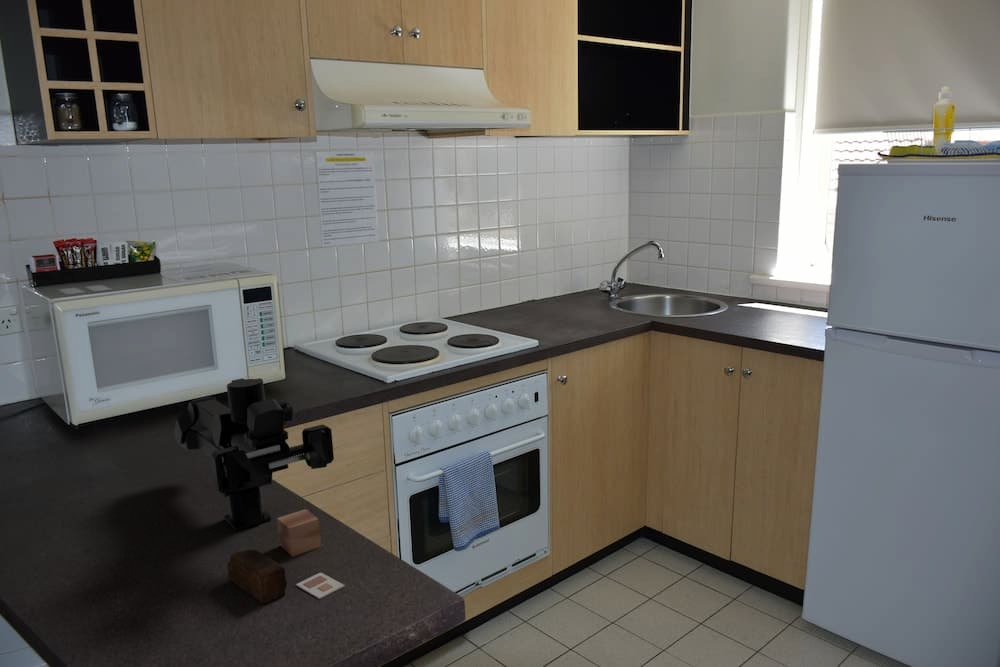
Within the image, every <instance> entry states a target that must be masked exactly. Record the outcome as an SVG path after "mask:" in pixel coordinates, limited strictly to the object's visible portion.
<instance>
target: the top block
mask: <svg viewBox="0 0 1000 667" xmlns="http://www.w3.org/2000/svg"><path fill="white" fill-rule="evenodd" d="M276 522H277V530H278V539H279V546H280V547H281V546H282V547H283V548H284V549H285V550H286V551H287V552H288V553H287V554H289V556H291V557H296V556H298V555H301V554H304V553H308V552H310V551H312V550H317V549H319V548H321V547H322V540H321V531H320V522H319V518H318V517H317V516H315V515H314V514H313V513H311V512H310V511H309V510H308V509H306V508H305V509H302V510H298V511H296V512H292V513H289V514H286V515H282V516H280V517H277V518H276ZM282 547H281V548H282ZM283 548H282V549H283ZM284 549H283V550H284ZM285 550H284V551H285ZM286 551H285V552H286Z"/></svg>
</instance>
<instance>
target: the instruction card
mask: <svg viewBox="0 0 1000 667" xmlns="http://www.w3.org/2000/svg"><path fill="white" fill-rule="evenodd" d="M295 586H296V587H297V588H299V589H301V590H303V591H304V592H305V593H307V594H309V595H311V596H313V597H315V598H316V599H319V600H321V599H323V598H325V597H327V596H328V595H330V594H333V593H335V592H336V591H338V590H340V589H342V588H345V587H346V586H345V584H344V583H341V582H339V581H337V580H335V579H334V578H332V577H330V576H328V575H326V574H325V573H323V572H319V573H317V574H315V575H311V576H310V577H308V578H306V579H304V580H302V581H300V582H298V583H296V584H295Z"/></svg>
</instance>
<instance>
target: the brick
mask: <svg viewBox="0 0 1000 667" xmlns="http://www.w3.org/2000/svg"><path fill="white" fill-rule="evenodd" d="M227 570H228V577H229V579H230V580H231V581H232V582H233V583H234V584H235V585H236V586H237V585H238V586H239V587H238V588H240V587H241V588H242V589H243V590H242V589H241V588H240V589H241V590H242V591H244V590H245V591H246V592H245V591H244V592H245V593H247V592H248V593H249V594H248V593H247V594H248V595H250V596H251V595H252V596H253V598H254V597H255V598H256V599H255V598H254V599H255V600H257V601H258V602H259V601H260V603H261V604H262V603H263V605H267V604H269V603H271V602H273V601H275V599H276V600H278V599H280V598H282V597H284V596H285V595H286V590H287V588H286V587H287V586H288V585H287V584H288V583H287V579H286V570H285V567H284V566H283V565H282V564H280V563H278V562H276V561H275V560H274V559H271V558H270V557H268V556H266V555H265V554H264V553H261V551H258V550H256V549H246V550H241V551H237V552H235V553H233V554H231V555H230V557H229V562H228V563H227ZM252 596H251V597H252Z"/></svg>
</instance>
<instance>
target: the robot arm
mask: <svg viewBox="0 0 1000 667" xmlns="http://www.w3.org/2000/svg"><path fill="white" fill-rule="evenodd" d="M226 391H227V398H228V399H227V400H228V406H229V407H227V406H225V405H224V404H223V403H221V402H220V401H219V400H218V397H216V396H215V397H213V396H207V397H203V398H197V399H194V400H192V401H191V402H189V403H188V404H187V405H188V406H187V408H186V410H185V411H183V412H182V413H181V414H180V415H179V416H177V418H176V420H175V425H174V436H175V437H174V438H175V441H176V443H177V445H180V446H181V447H182V449H184V450H186V451H196V450H197V451H198V450H201V452H203V453H204V454H205V455H206V456H208V457H209V458H210V465H211V471H212V479H213V480H212V481H213V484H214V487H215V490H216V491H217V492H218V493H219V494H220V495H221V496H223V497H224V498H227V501H228V510H229V514H225V515H224V516H223V519H224V521H226V522H227V524H228V525H230V526H231V527H232V528H233V529H234V531H239V530H242V529H245V528H246V529H247V528H249V527H251V526H254V525H258V524H261V523H264V522H267V521H270V520H272V516H271V514H269V513H268V512H267V511H266V510H265V509H264V502H263V501H264V500H263V491H262V487H265V486H268V485H272V482H273V473H276V472H279V471H283V470H287V469H289V464H293V463H297V462H300V461H304V460H305V462H306V465H307V466H308V468H310V469H311V470H314V469H322V468H324V469H325V468H326V467H328V466H327V465H329V464H331V463H332V462H333V461H334V459H335V458H334V457H335V456H334V455H335V454H334V444H333V443H334V442H333V435H332V428H330V427H329V426H327V425H325V424H318V425H315V426H311V427H306V428H304V429H303V430H302V432H301V438H302V444H298V445H294V446H289V444H288V443H287V442H286V441H287V440H289V431H287V430H285V429H284V426H286V425H287V423H289V422H292V421H293V420H294V407H293V406H292V404H291V403H290V402H289V401H286V400H283V399H282V398H281V399H275V398H272V399H270V398H269V399H266V396H265V387H264V379H263V378H238V379H233V380H231V382H229V383H228V384H226Z"/></svg>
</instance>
